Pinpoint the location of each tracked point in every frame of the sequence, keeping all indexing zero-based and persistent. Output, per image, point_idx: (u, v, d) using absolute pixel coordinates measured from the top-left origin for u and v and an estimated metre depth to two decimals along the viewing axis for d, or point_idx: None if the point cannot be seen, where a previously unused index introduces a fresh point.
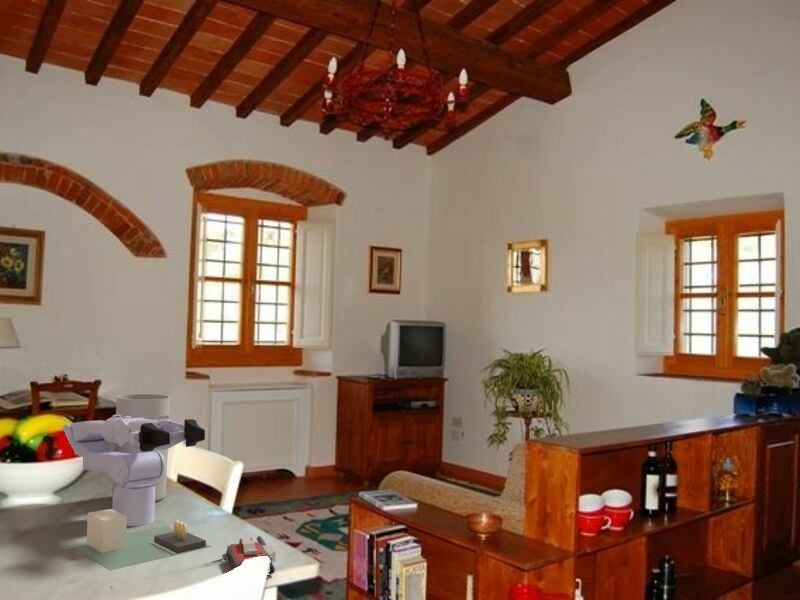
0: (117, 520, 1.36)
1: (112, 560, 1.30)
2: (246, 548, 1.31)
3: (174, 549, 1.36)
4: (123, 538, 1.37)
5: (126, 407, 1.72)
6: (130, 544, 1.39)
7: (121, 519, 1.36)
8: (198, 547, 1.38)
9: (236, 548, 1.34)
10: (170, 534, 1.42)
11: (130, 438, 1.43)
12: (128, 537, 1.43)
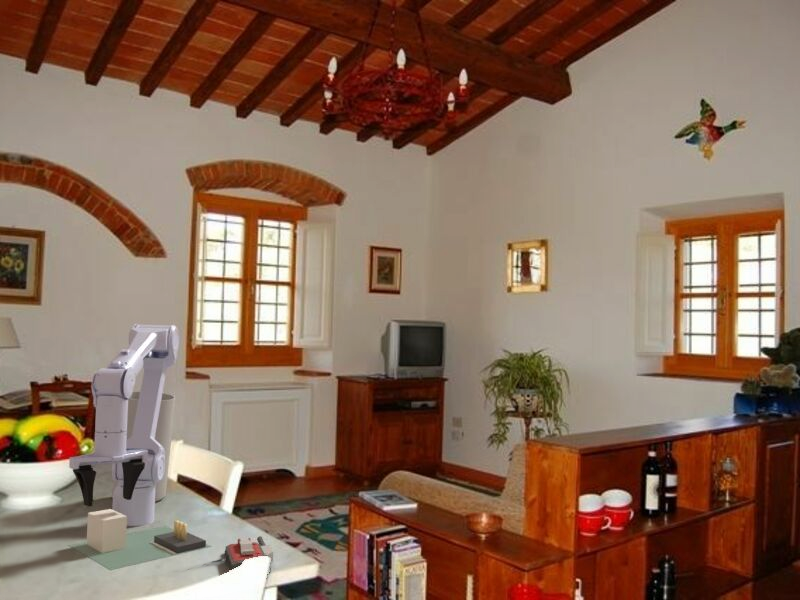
0: (117, 520, 1.36)
1: (112, 560, 1.30)
2: (243, 548, 1.31)
3: (174, 549, 1.36)
4: (123, 538, 1.37)
5: (132, 407, 1.70)
6: (130, 544, 1.39)
7: (121, 519, 1.36)
8: (198, 547, 1.38)
9: (234, 548, 1.34)
10: (170, 534, 1.42)
11: (71, 461, 1.33)
12: (128, 537, 1.43)
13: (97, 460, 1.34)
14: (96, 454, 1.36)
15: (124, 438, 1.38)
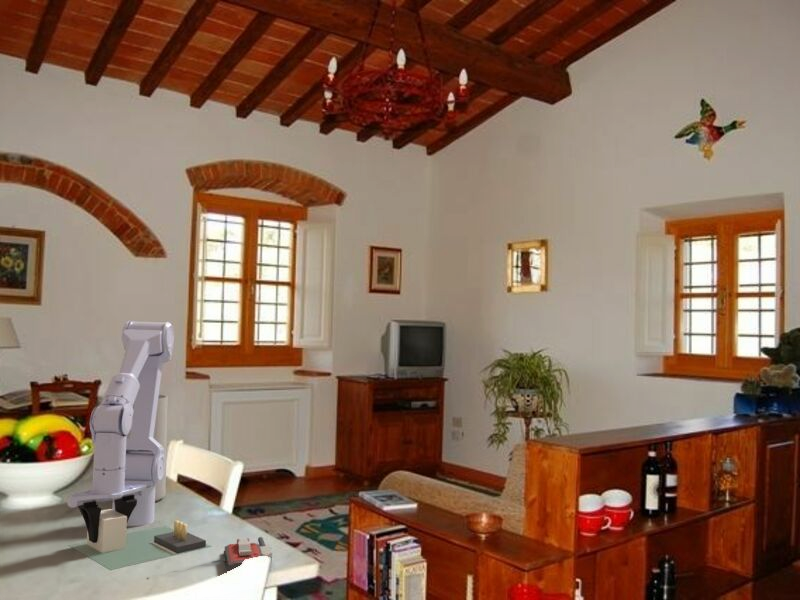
0: (117, 520, 1.36)
1: (112, 560, 1.30)
2: (241, 549, 1.31)
3: (174, 549, 1.36)
4: (123, 538, 1.37)
5: None
6: (130, 544, 1.39)
7: (121, 519, 1.36)
8: (198, 547, 1.38)
9: (232, 548, 1.33)
10: (170, 534, 1.42)
11: (69, 499, 1.33)
12: (128, 537, 1.43)
13: (95, 498, 1.34)
14: (94, 491, 1.36)
15: (122, 475, 1.38)
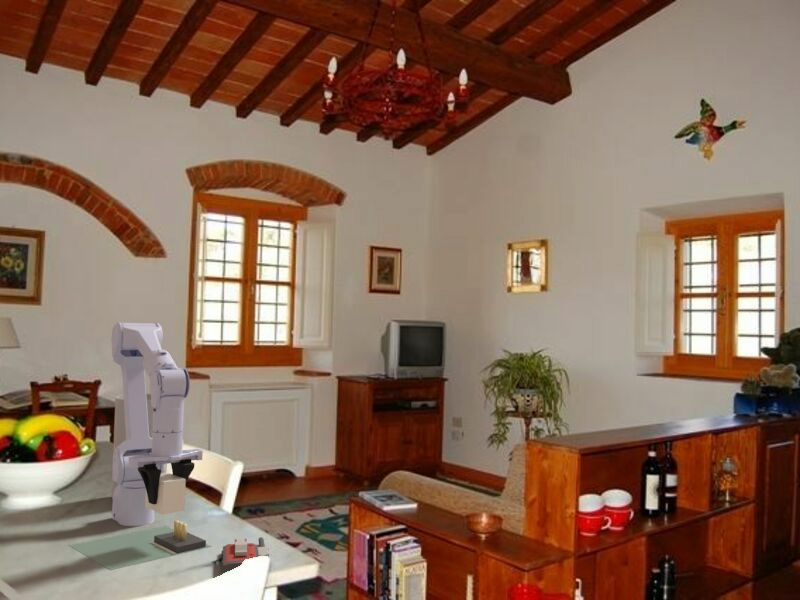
0: (176, 482, 1.38)
1: (112, 560, 1.30)
2: (237, 549, 1.31)
3: (174, 549, 1.36)
4: (182, 500, 1.39)
5: None
6: (130, 544, 1.39)
7: (180, 481, 1.38)
8: (198, 547, 1.38)
9: (229, 548, 1.33)
10: (170, 534, 1.42)
11: (130, 460, 1.35)
12: (128, 537, 1.43)
13: (155, 460, 1.36)
14: (154, 454, 1.38)
15: (181, 438, 1.40)
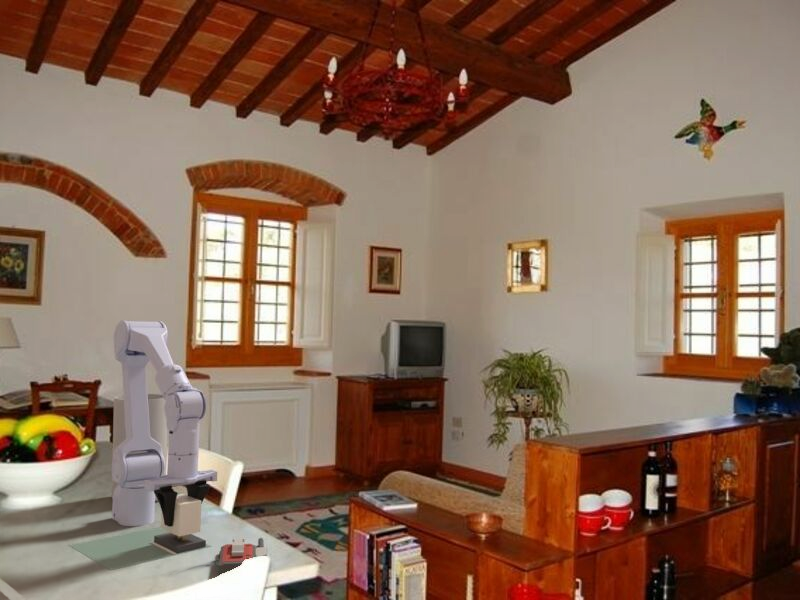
0: (192, 504, 1.38)
1: (112, 560, 1.30)
2: (234, 549, 1.31)
3: (174, 549, 1.36)
4: (198, 522, 1.39)
5: None
6: (130, 544, 1.39)
7: (195, 503, 1.39)
8: (198, 547, 1.38)
9: (227, 549, 1.33)
10: (170, 534, 1.42)
11: (147, 483, 1.35)
12: (128, 537, 1.43)
13: (172, 482, 1.37)
14: (170, 476, 1.38)
15: (196, 460, 1.40)
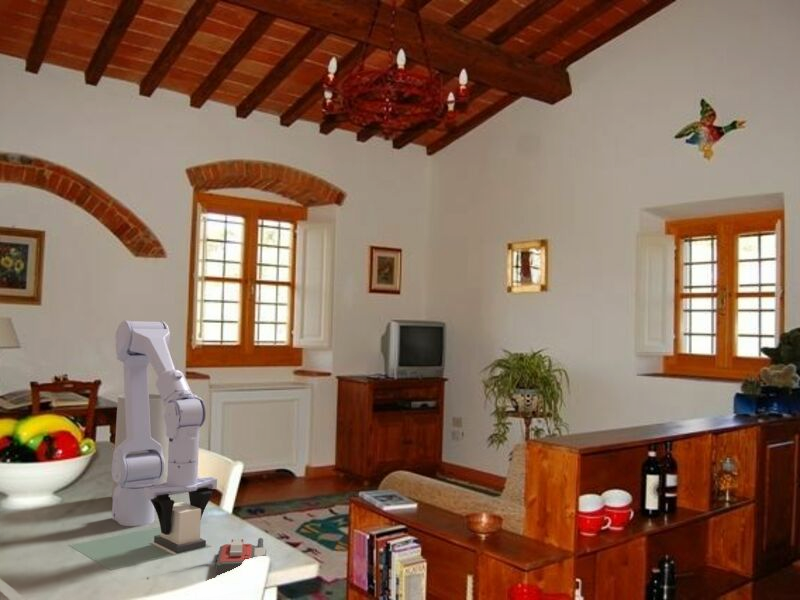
0: (192, 512, 1.38)
1: (112, 560, 1.30)
2: (233, 549, 1.31)
3: (174, 549, 1.36)
4: (197, 530, 1.39)
5: None
6: (130, 544, 1.39)
7: (195, 512, 1.39)
8: (198, 547, 1.38)
9: (226, 549, 1.33)
10: None
11: (146, 491, 1.35)
12: (128, 537, 1.43)
13: (171, 490, 1.37)
14: (169, 484, 1.38)
15: (196, 468, 1.40)
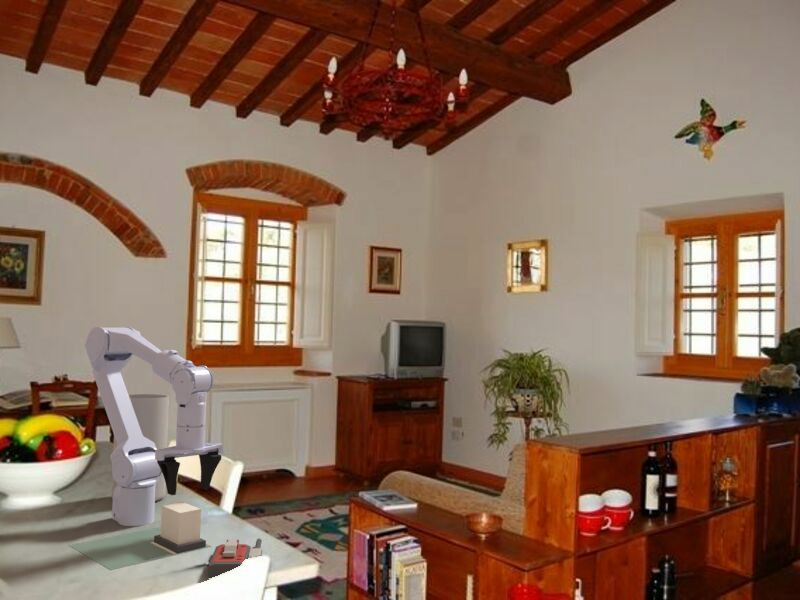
0: (192, 512, 1.38)
1: (112, 560, 1.30)
2: (226, 550, 1.30)
3: (174, 549, 1.36)
4: (197, 530, 1.39)
5: None
6: (130, 544, 1.39)
7: (195, 512, 1.39)
8: (198, 547, 1.38)
9: (221, 549, 1.33)
10: None
11: (157, 453, 1.43)
12: (128, 537, 1.43)
13: (180, 452, 1.45)
14: (178, 447, 1.46)
15: (203, 432, 1.48)
